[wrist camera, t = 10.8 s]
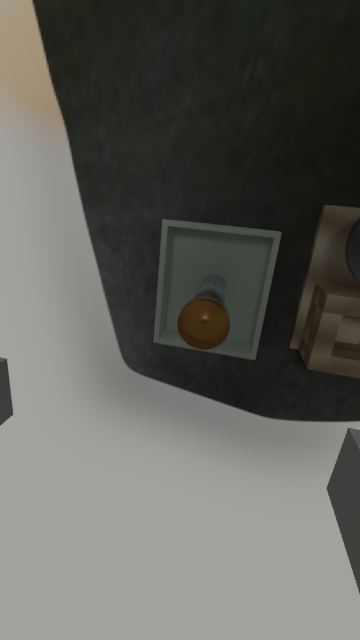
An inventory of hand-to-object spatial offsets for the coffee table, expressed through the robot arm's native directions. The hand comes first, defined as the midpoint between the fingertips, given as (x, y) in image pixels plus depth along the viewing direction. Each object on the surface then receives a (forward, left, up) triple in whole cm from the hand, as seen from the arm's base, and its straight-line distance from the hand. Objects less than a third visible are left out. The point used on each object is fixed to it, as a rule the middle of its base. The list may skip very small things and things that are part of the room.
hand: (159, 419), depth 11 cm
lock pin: (0, 0, -25) cm, 25 cm away
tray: (0, 0, -26) cm, 26 cm away
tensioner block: (-2, +15, -26) cm, 30 cm away
